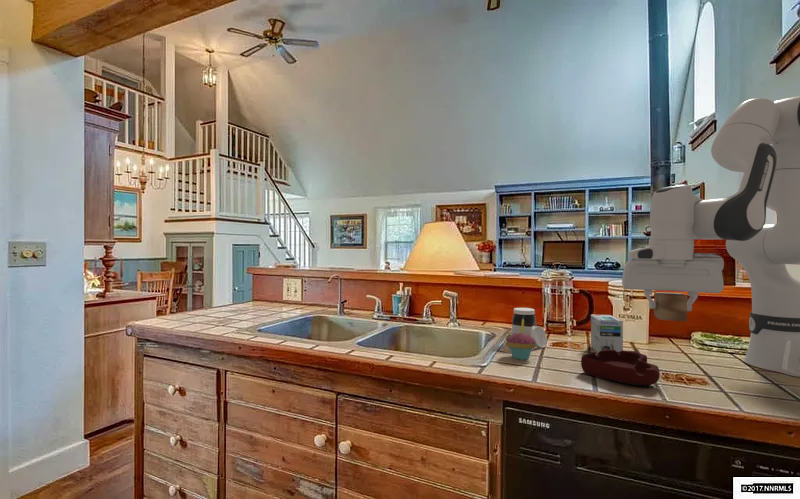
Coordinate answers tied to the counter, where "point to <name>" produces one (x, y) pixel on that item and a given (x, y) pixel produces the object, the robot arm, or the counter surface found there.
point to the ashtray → (621, 367)
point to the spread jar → (528, 326)
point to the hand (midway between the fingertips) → (669, 309)
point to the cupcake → (520, 344)
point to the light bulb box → (606, 333)
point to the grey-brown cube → (671, 306)
